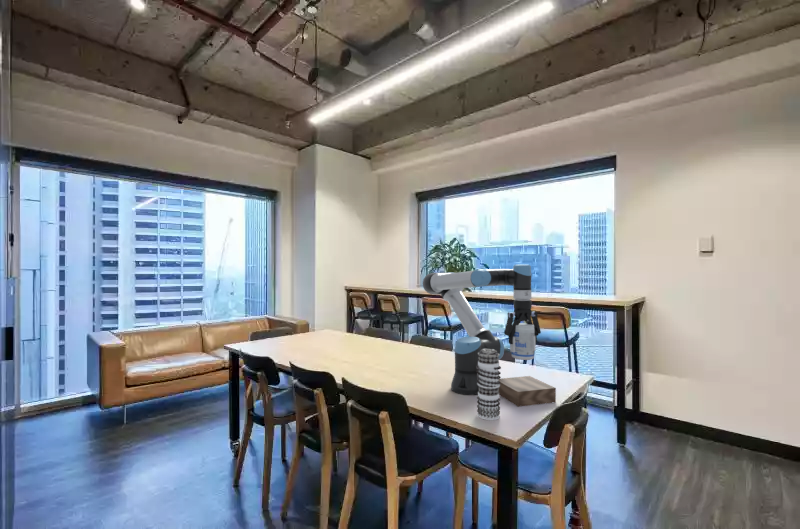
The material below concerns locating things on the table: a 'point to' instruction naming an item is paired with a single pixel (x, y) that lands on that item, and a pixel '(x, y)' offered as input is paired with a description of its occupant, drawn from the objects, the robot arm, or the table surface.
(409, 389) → the table surface
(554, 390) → the walnut riser
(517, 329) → the supplement tub
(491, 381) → the decorative candle
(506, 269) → the robot arm
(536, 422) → the table surface
